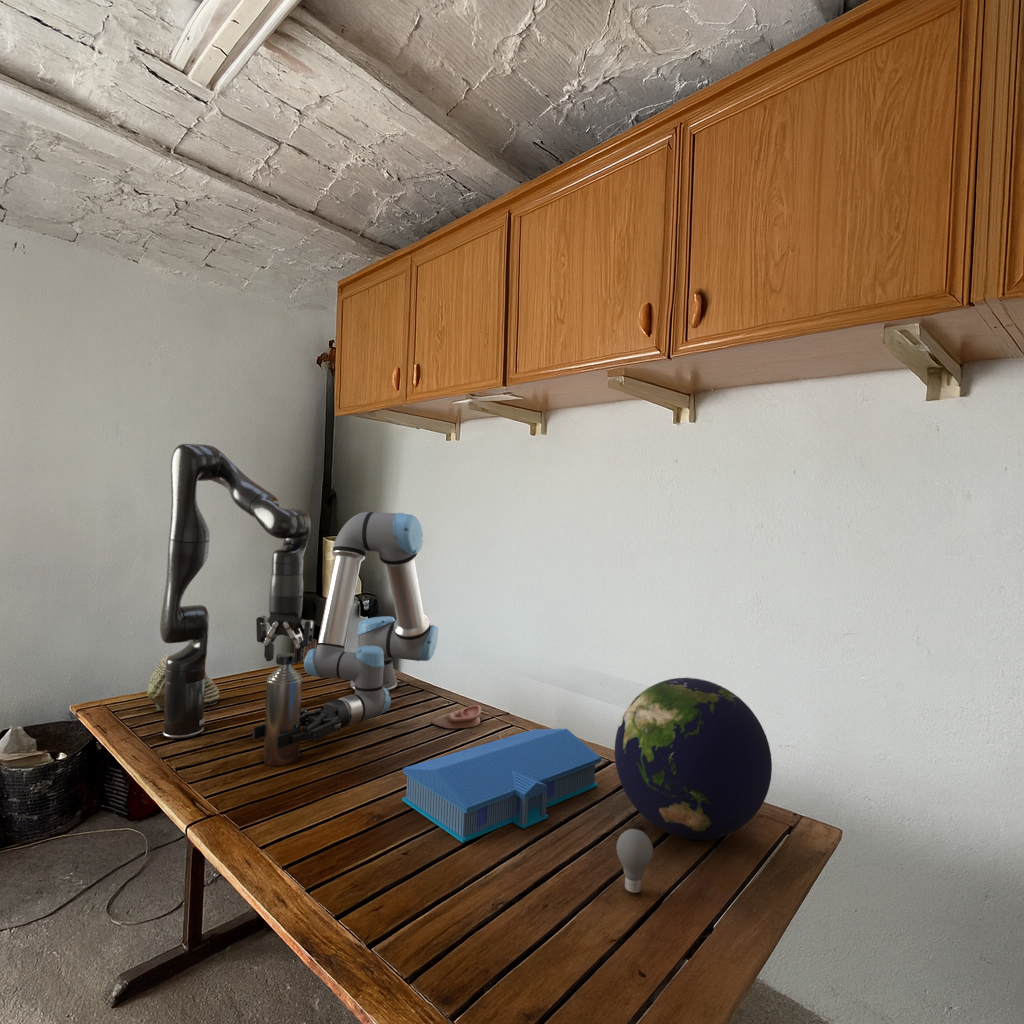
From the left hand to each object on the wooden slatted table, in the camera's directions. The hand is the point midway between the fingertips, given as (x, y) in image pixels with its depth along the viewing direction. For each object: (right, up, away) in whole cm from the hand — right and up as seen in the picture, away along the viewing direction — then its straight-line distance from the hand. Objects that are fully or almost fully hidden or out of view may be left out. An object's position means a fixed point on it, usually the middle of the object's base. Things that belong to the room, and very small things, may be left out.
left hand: (283, 661), depth 151 cm
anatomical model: (+39, -25, +30) cm, 55 cm away
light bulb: (+75, -28, -45) cm, 92 cm away
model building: (+54, -26, -13) cm, 61 cm away
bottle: (-1, -23, +1) cm, 24 cm away
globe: (+89, -28, -25) cm, 97 cm away
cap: (0, +1, 0) cm, 1 cm away
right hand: (-3, -17, -3) cm, 18 cm away
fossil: (-41, -21, +34) cm, 58 cm away
